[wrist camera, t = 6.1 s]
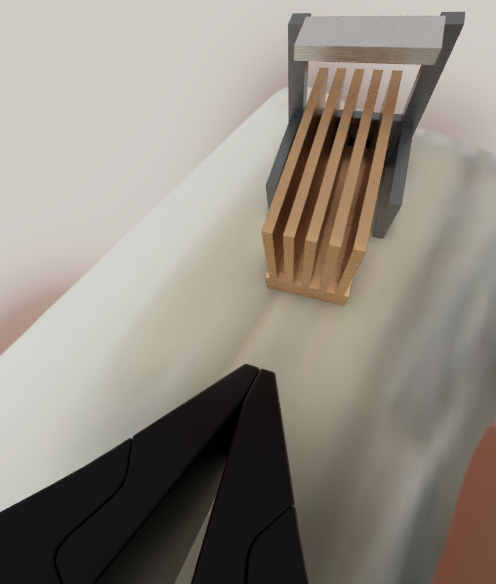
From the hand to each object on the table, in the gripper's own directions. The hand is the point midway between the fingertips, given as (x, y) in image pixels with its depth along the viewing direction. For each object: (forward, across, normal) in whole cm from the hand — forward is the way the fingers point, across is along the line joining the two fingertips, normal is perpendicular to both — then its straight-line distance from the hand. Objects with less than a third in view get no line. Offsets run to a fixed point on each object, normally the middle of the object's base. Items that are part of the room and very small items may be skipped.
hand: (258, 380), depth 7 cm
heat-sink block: (+19, 0, -1) cm, 19 cm away
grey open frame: (+22, 0, -4) cm, 22 cm away
